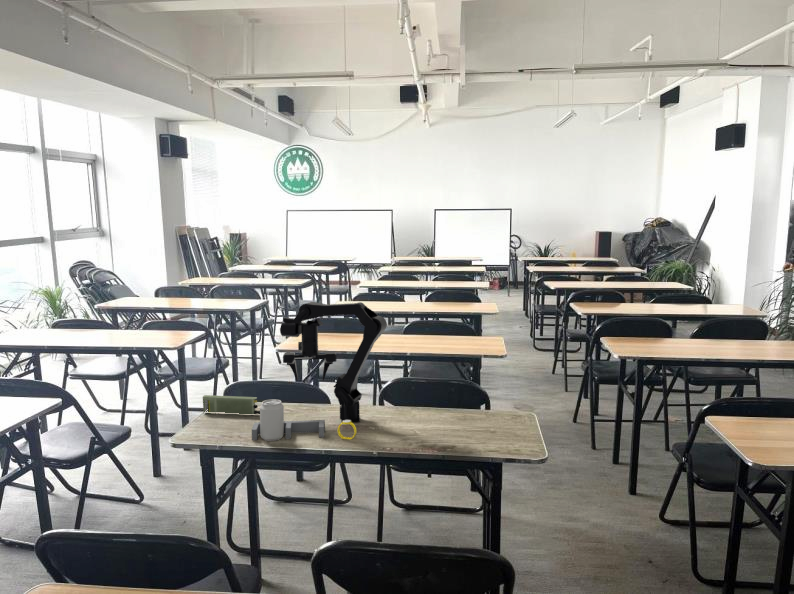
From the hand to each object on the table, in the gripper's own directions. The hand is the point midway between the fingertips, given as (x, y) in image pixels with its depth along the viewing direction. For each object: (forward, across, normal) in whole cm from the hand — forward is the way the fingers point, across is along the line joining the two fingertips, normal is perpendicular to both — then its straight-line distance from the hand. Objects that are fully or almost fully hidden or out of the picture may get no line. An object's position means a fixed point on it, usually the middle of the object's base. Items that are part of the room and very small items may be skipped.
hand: (310, 380), depth 207 cm
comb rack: (+13, +6, +19) cm, 24 cm away
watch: (+13, -12, +25) cm, 31 cm away
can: (+13, +12, +21) cm, 28 cm away
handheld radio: (+13, +27, -6) cm, 30 cm away
